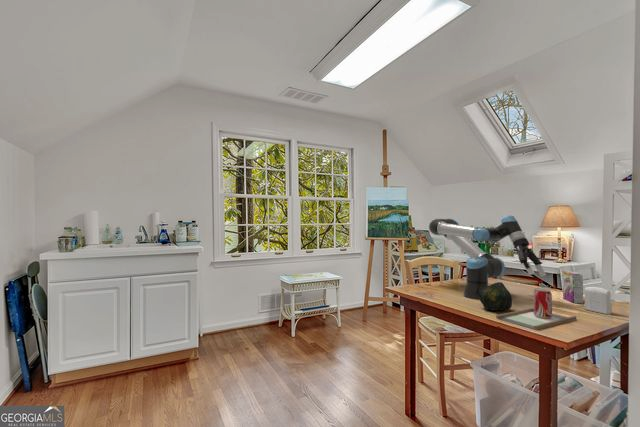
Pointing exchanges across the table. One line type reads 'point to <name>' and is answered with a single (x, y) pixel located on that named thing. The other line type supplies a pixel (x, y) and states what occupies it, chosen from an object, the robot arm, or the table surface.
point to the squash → (496, 297)
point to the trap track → (533, 319)
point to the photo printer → (598, 300)
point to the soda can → (542, 303)
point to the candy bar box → (572, 287)
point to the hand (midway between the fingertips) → (537, 275)
